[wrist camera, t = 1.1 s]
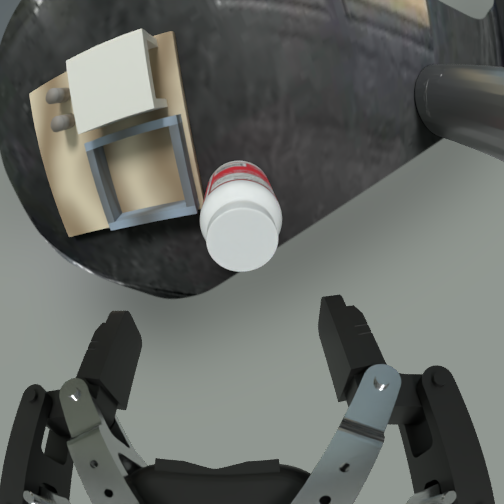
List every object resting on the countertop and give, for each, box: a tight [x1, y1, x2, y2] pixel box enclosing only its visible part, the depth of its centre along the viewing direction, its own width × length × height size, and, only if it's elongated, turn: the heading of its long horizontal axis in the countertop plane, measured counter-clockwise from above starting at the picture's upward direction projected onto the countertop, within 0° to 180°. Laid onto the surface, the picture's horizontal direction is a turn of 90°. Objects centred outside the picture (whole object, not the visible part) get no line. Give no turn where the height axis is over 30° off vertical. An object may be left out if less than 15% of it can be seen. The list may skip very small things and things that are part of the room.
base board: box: [29, 31, 205, 237], centre depth 21 cm, size 17×18×4 cm
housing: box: [66, 28, 168, 134], centre depth 17 cm, size 7×7×4 cm
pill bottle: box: [200, 161, 282, 272], centre depth 22 cm, size 6×6×11 cm
